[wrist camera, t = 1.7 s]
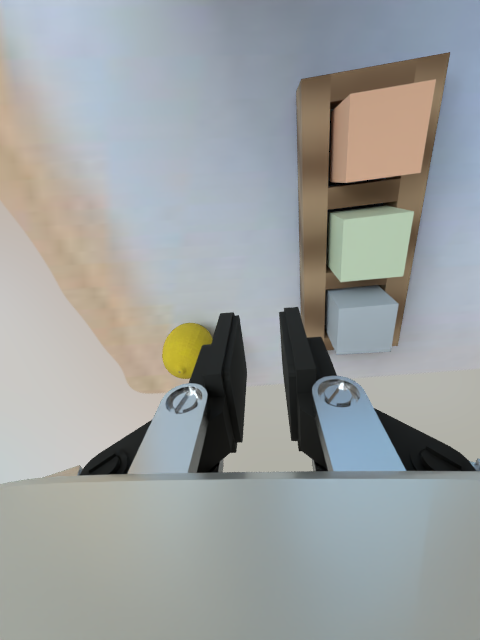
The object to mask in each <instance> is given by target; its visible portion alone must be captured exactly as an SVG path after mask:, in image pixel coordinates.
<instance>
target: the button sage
mask: <svg viewBox="0 0 480 640" xmlns="http://www.w3.org/2000/svg"><path fill="white" fill-rule="evenodd" d="M413 215H414V211H410V210H405V209H401V208H396V207H391V206H387V205H384V206H376V207H368V208H360V209H352V210H343V211H335V212H329V218H328V254H327V266H328V267H329V268H330V269H331V271H332V272H333V273H334V275H335V276H336V277H337V278H338V280H339V281H340V282H347V281H358V280H369V279H380V278H391V277H401V276H403V275H404V269H405V263H406V257H407V251H408V245H409V239H410V233H411V227H412V221H413Z"/></svg>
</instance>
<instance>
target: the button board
mask: <svg viewBox="0 0 480 640" xmlns="http://www.w3.org/2000/svg"><path fill="white" fill-rule="evenodd" d="M449 56H450V52H449V53H444V54H438V55H433V56H427V57H421V58H416V59H410V60H405V61H399V62H394V63H388V64H383V65H377V66H372V67H366V68H361V69H355V70H350V71H344V72H338V73H333V74H327V75H322V76H316V77H311V78H305V79H301V81H300V83H299V86H298V88H297V91H296V104H297V152H298V201H299V249H300V298H301V319H302V323H303V326H304V329H305V333H306V336H307V337H322V339H323V341H324V344H325V347H326V349H327V350H334V348H333V346H332V343H331V341H330V339H329V336H328V334H327V332H326V329H325V325H324V324H325V290H326V289H337V288H349V287H360V286H371V285H378V286H379V287H381V288H382V289H383V290H384V291H385V292H386V293H387V294H388V295H389V296H391V297H392V298H393V299H394V300H395V301H396V302H397V303H398V304H399V305H398V311H397V317H396V323H395V329H394V335H393V341H392V346H398V341H399V335H400V330H401V324H402V319H403V313H404V307H405V302H406V296H407V291H408V285H409V280H410V274H411V268H412V263H413V257H414V252H415V246H416V240H417V235H418V229H419V224H420V218H421V213H422V207H423V201H424V196H425V190H426V185H427V179H428V173H429V168H430V162H431V157H432V151H433V146H434V140H435V134H436V129H437V123H438V118H439V112H440V106H441V101H442V95H443V90H444V84H445V78H446V73H447V67H448V62H449ZM434 79H436V83H435V89H434V95H433V101H432V107H431V113H430V119H429V125H428V131H427V137H426V143H425V149H424V155H423V161H422V167H421V173H416V174H408V175H401V176H393V177H386V179H378V180H371V181H363V182H356V183H348V184H341V185H333V186H328V171H329V132H330V110H331V109H335V108H336V107H337V106H338V105H339V104H340V103H341V102H342V101H343V100H344V99H345V98H347V97H348V96H349V95H350V94H352V93H358V92H364V91H370V90H376V89H382V88H388V87H393V86H399V85H405V84H411V83H417V82H423V81H429V80H434ZM378 203H383V205H382V206H384V205H387V206H391V207H396V208H401V209H405V210H410V211H414V215H413V221H412V227H411V233H410V239H409V245H408V251H407V257H406V263H405V269H404V275H403V276H401V277H391V278H380V279H369V280H358V281H347V282H340V281H339V280H338V278H337V277H336V276H335V275H334V273H333V272H332V271H331V269H330V268H329V267H328V266H327V264H326V247H327V210H329V209H337V208H345V207H353V206H361V205H369V204H378Z"/></svg>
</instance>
